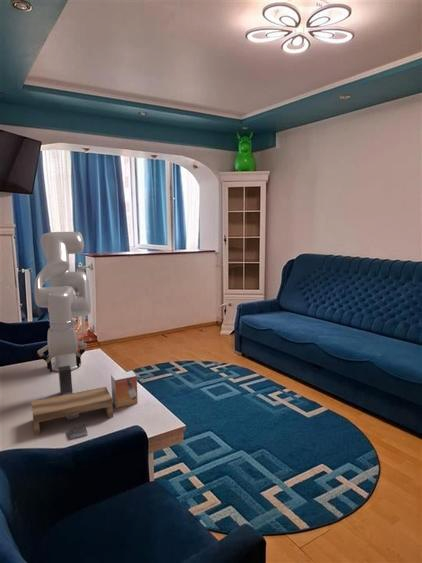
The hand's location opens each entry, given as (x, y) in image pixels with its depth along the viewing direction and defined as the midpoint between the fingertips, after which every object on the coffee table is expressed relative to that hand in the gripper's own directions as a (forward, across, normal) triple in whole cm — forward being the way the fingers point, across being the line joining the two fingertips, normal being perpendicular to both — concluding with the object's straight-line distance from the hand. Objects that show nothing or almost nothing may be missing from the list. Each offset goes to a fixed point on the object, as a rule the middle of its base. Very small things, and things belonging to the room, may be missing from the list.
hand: (64, 368), depth 148 cm
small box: (+9, -18, +19) cm, 27 cm away
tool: (+9, 0, +11) cm, 14 cm away
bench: (+8, 0, +22) cm, 23 cm away
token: (+8, 0, +31) cm, 32 cm away
